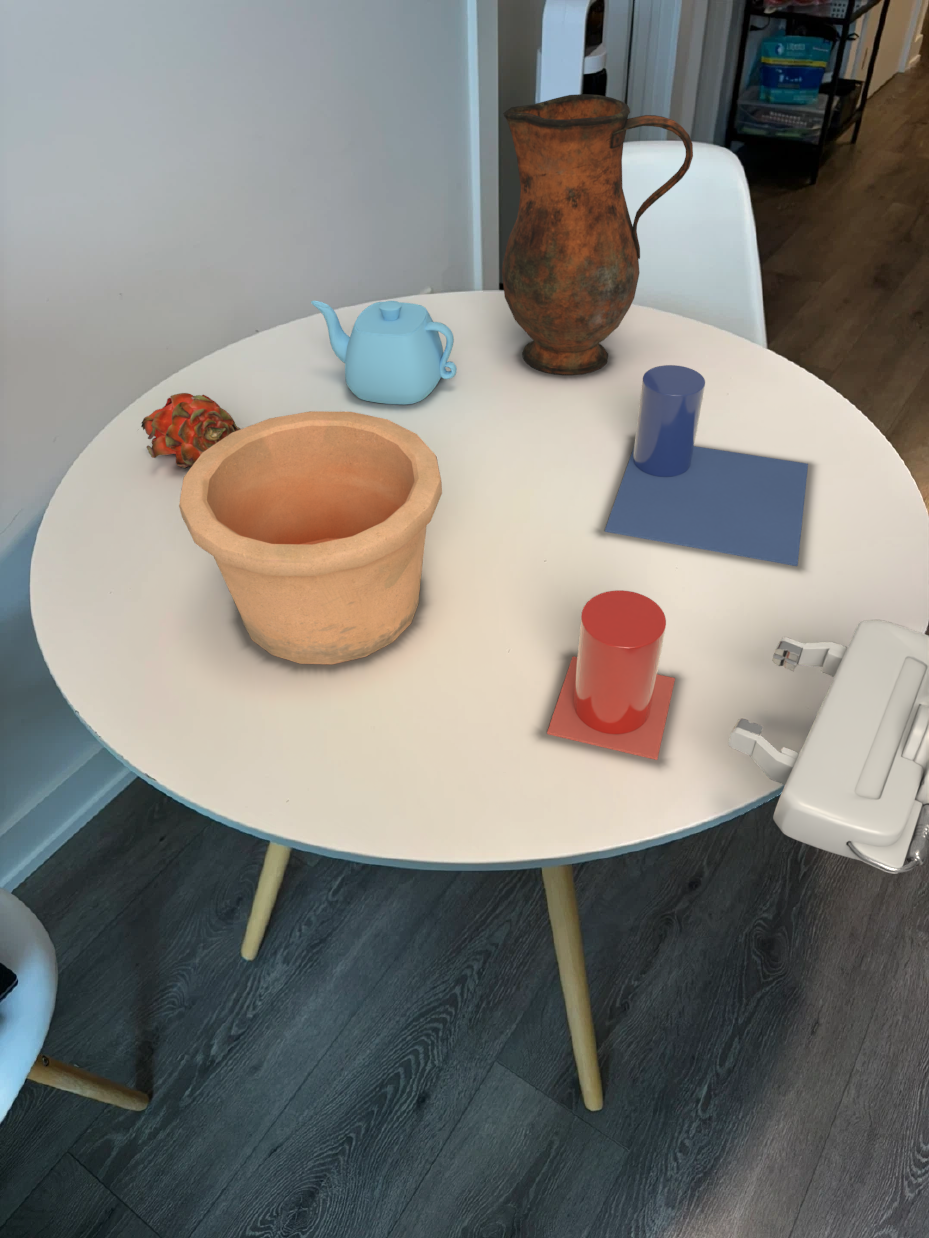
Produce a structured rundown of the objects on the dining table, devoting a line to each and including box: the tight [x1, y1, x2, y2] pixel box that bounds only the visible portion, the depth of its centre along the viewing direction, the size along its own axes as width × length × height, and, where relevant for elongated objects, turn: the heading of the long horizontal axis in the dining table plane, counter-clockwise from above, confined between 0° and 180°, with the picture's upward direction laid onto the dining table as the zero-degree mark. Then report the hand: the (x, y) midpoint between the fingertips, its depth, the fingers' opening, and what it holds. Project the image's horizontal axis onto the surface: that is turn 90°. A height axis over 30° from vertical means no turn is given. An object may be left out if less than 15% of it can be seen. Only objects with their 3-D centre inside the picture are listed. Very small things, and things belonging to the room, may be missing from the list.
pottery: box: [178, 410, 443, 665], centre depth 83 cm, size 22×22×14 cm
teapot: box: [310, 300, 458, 405], centre depth 114 cm, size 13×11×18 cm
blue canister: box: [633, 364, 706, 477], centre depth 99 cm, size 6×6×10 cm
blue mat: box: [604, 445, 809, 567], centre depth 98 cm, size 19×18×1 cm
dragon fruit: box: [136, 392, 241, 469], centre depth 104 cm, size 8×8×12 cm
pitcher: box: [501, 93, 694, 376], centre depth 111 cm, size 17×21×30 cm
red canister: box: [573, 589, 667, 734], centre depth 74 cm, size 6×6×10 cm
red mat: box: [546, 655, 676, 761], centre depth 77 cm, size 9×9×1 cm
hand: (755, 688), depth 68 cm, fingers open, 8 cm apart
